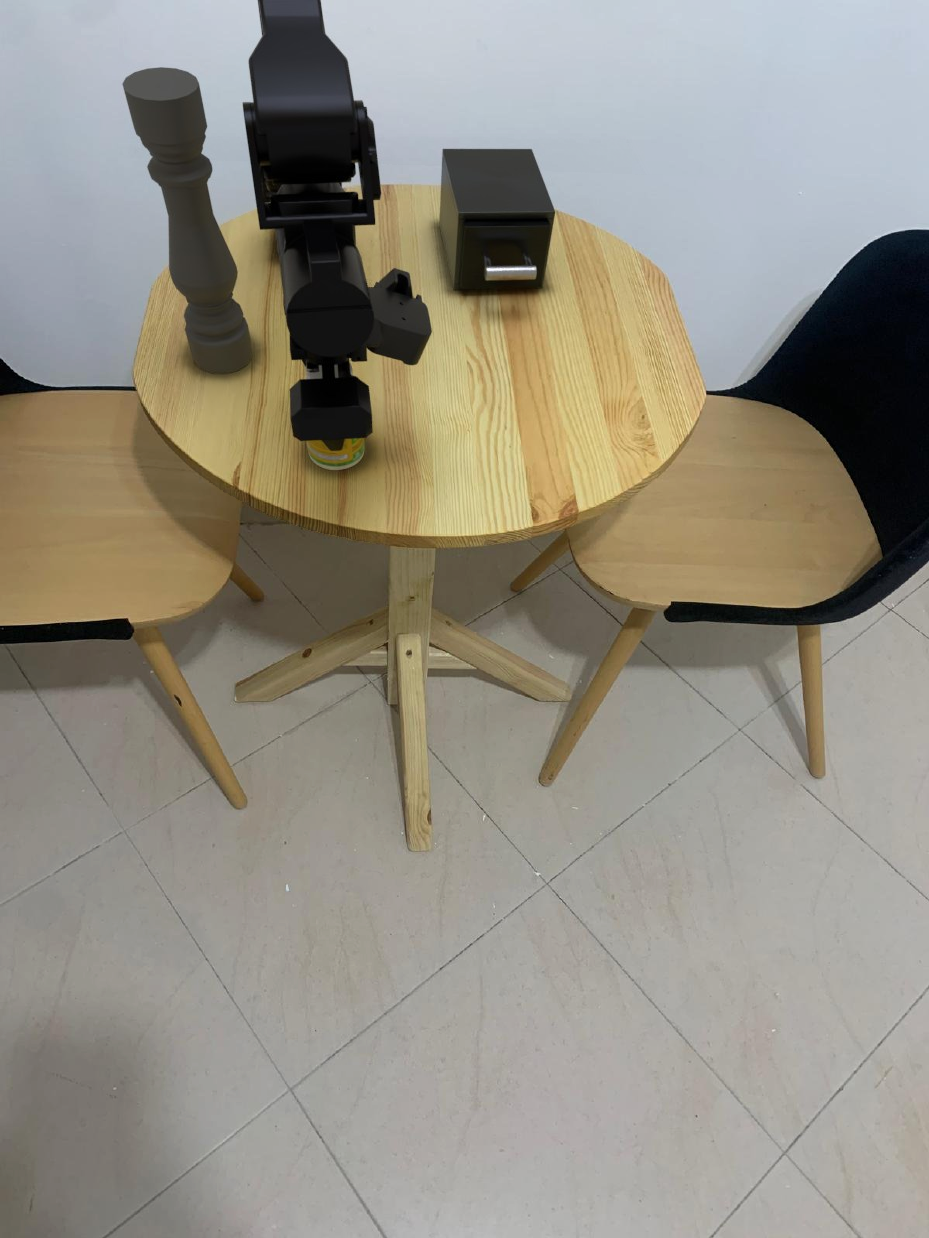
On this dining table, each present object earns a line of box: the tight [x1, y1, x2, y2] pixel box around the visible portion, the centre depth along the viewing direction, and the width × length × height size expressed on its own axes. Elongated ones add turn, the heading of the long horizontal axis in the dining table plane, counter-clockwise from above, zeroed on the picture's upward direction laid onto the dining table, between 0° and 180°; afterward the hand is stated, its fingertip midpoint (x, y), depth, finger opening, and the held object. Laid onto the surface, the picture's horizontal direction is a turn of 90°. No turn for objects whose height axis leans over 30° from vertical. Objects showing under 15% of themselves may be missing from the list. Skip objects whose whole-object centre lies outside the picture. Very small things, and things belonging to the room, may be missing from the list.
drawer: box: [459, 219, 551, 290], centre depth 88 cm, size 17×9×7 cm, turn 8°
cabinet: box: [438, 148, 556, 291], centre depth 90 cm, size 14×11×9 cm
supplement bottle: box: [304, 363, 366, 471], centre depth 70 cm, size 5×5×10 cm
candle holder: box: [122, 66, 254, 375], centre depth 70 cm, size 6×6×25 cm
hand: (334, 427), depth 71 cm, fingers closed on supplement bottle, 5 cm apart
